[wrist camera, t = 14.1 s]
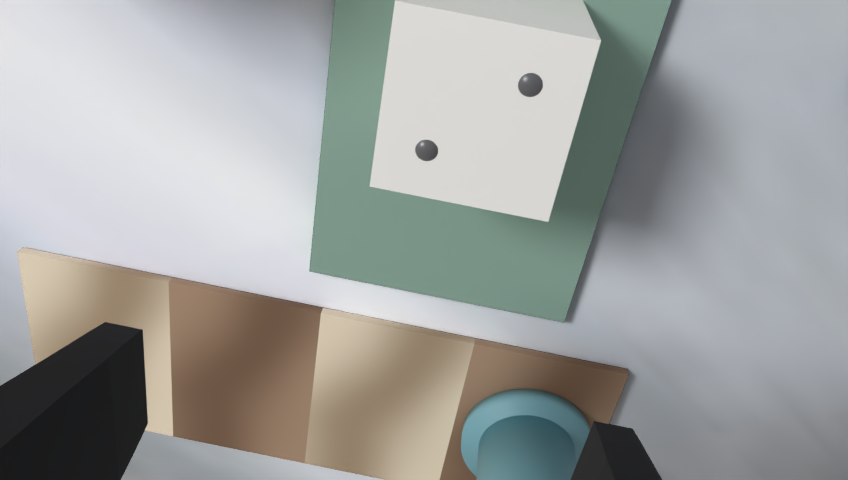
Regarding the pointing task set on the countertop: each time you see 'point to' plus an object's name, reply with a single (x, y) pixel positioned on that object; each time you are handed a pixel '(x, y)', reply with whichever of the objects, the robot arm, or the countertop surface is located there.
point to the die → (483, 101)
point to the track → (299, 370)
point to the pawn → (523, 436)
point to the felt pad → (458, 224)
